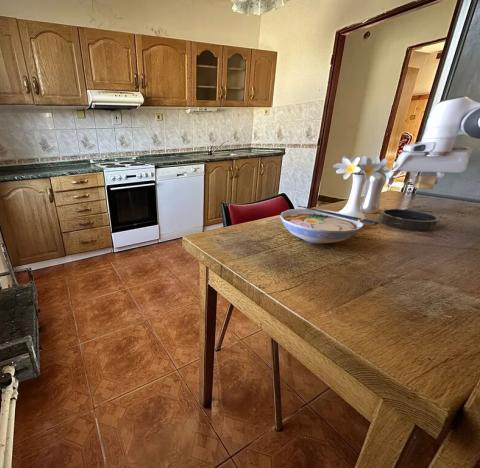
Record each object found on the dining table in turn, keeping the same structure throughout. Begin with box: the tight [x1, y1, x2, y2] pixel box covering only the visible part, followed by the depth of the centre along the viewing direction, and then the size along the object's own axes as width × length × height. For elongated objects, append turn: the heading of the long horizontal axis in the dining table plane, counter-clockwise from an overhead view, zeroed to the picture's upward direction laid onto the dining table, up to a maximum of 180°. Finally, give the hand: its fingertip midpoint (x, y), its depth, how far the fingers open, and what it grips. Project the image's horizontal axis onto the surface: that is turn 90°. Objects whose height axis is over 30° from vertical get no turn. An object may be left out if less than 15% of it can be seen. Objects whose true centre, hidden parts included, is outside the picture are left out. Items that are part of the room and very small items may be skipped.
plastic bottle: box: [360, 165, 387, 214], centre depth 105 cm, size 6×7×20 cm
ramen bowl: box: [279, 205, 380, 245], centre depth 82 cm, size 25×23×8 cm
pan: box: [378, 208, 440, 232], centre depth 93 cm, size 16×16×4 cm
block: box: [412, 174, 436, 190], centre depth 100 cm, size 4×4×4 cm
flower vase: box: [332, 154, 402, 225], centre depth 88 cm, size 13×18×25 cm
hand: (423, 183), depth 100 cm, fingers closed on block, 4 cm apart
